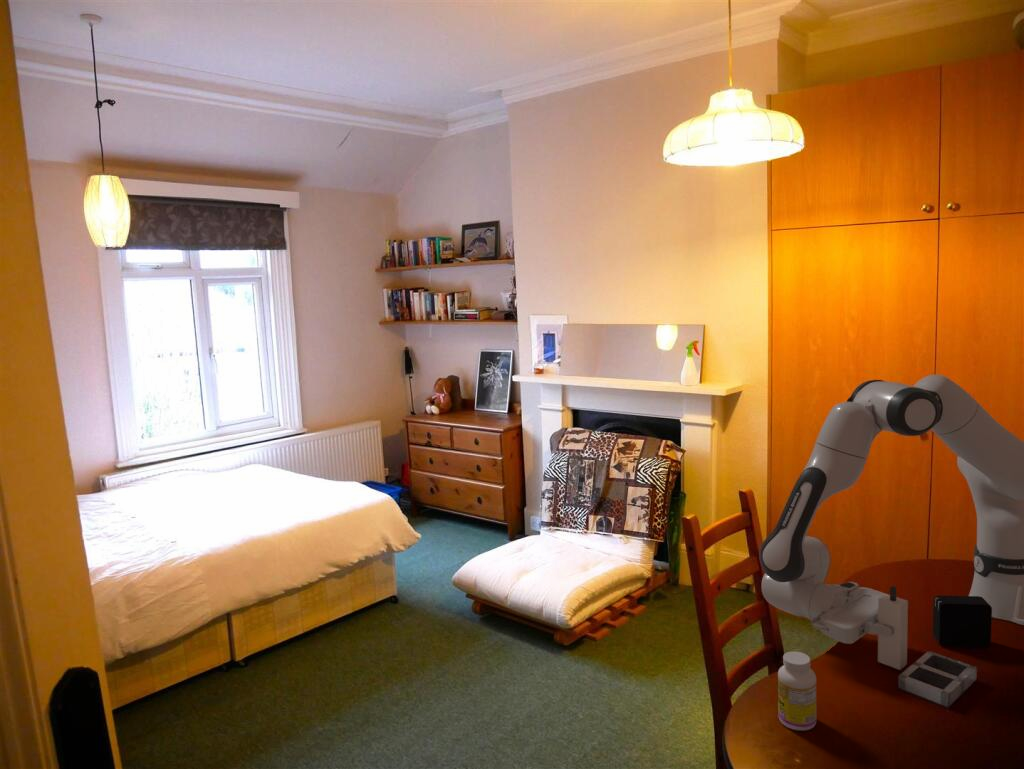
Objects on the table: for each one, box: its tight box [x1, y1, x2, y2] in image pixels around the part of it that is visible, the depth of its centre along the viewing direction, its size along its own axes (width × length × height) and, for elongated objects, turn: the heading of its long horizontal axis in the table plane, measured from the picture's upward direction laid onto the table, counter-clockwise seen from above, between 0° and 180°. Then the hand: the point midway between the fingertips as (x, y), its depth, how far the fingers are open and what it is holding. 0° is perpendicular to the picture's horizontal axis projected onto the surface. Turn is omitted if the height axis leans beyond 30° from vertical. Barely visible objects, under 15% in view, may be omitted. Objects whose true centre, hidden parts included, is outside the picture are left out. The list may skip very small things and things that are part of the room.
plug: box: [877, 585, 909, 671], centre depth 151 cm, size 4×3×17 cm, turn 38°
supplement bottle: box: [777, 651, 817, 732], centre depth 136 cm, size 7×7×13 cm
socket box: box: [897, 650, 978, 709], centre depth 145 cm, size 9×14×3 cm, turn 128°
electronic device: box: [932, 594, 993, 650], centre depth 159 cm, size 4×10×10 cm, turn 79°
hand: (897, 628), depth 150 cm, fingers closed on plug, 3 cm apart
